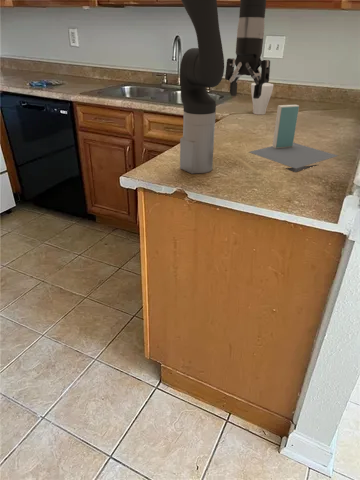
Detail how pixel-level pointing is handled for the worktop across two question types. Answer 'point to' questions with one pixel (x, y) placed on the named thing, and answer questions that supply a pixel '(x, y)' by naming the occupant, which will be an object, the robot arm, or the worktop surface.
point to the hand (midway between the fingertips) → (244, 97)
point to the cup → (261, 98)
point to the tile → (285, 126)
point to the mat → (294, 156)
